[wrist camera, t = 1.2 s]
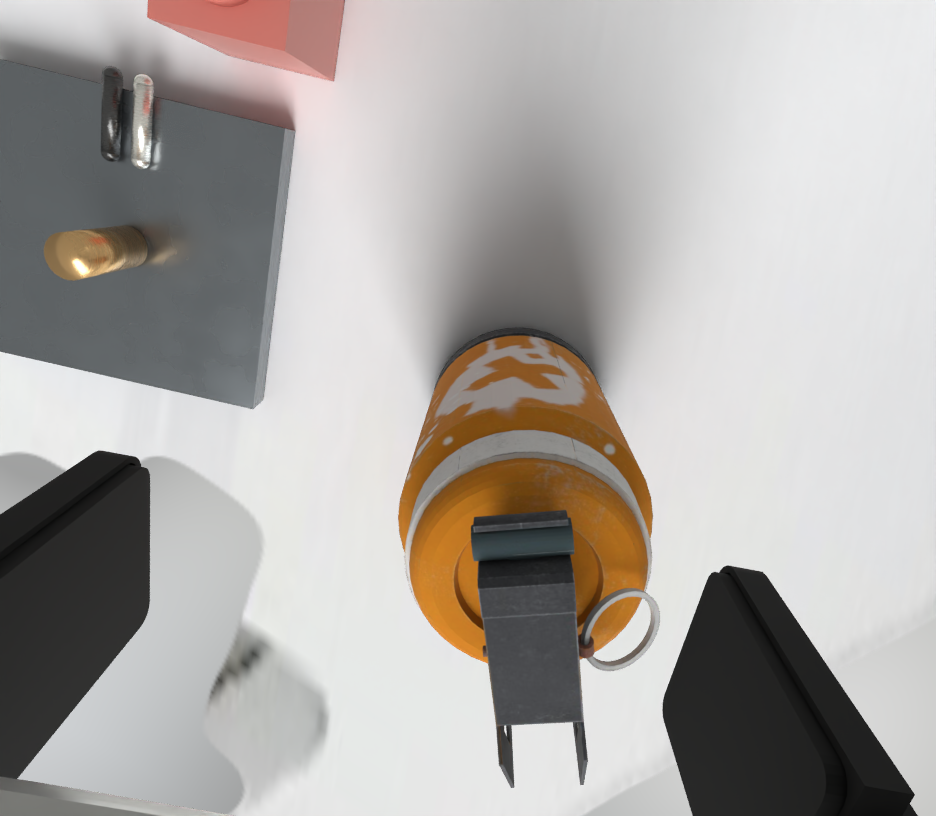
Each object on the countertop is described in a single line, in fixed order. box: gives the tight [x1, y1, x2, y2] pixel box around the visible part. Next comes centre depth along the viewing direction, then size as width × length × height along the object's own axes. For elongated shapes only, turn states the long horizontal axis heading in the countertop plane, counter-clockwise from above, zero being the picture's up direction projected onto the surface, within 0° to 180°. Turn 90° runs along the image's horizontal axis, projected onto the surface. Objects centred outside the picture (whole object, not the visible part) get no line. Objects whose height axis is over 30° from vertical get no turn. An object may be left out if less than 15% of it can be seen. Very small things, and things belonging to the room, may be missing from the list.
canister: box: [398, 328, 660, 788], centre depth 25 cm, size 9×11×20 cm
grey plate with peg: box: [0, 59, 295, 409], centre depth 29 cm, size 15×14×6 cm
